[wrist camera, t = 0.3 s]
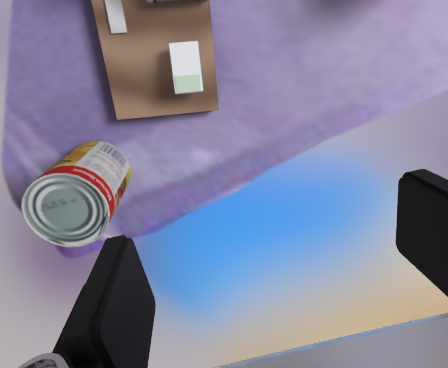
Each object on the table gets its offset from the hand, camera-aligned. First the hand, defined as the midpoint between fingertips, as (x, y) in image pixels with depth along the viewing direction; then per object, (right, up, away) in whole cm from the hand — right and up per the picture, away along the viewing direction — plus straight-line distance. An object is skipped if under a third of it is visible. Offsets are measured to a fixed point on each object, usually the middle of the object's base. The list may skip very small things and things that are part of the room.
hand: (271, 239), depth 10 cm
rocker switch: (-6, +14, +22) cm, 27 cm away
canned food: (-18, +4, +29) cm, 35 cm away
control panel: (-9, +21, +23) cm, 32 cm away
